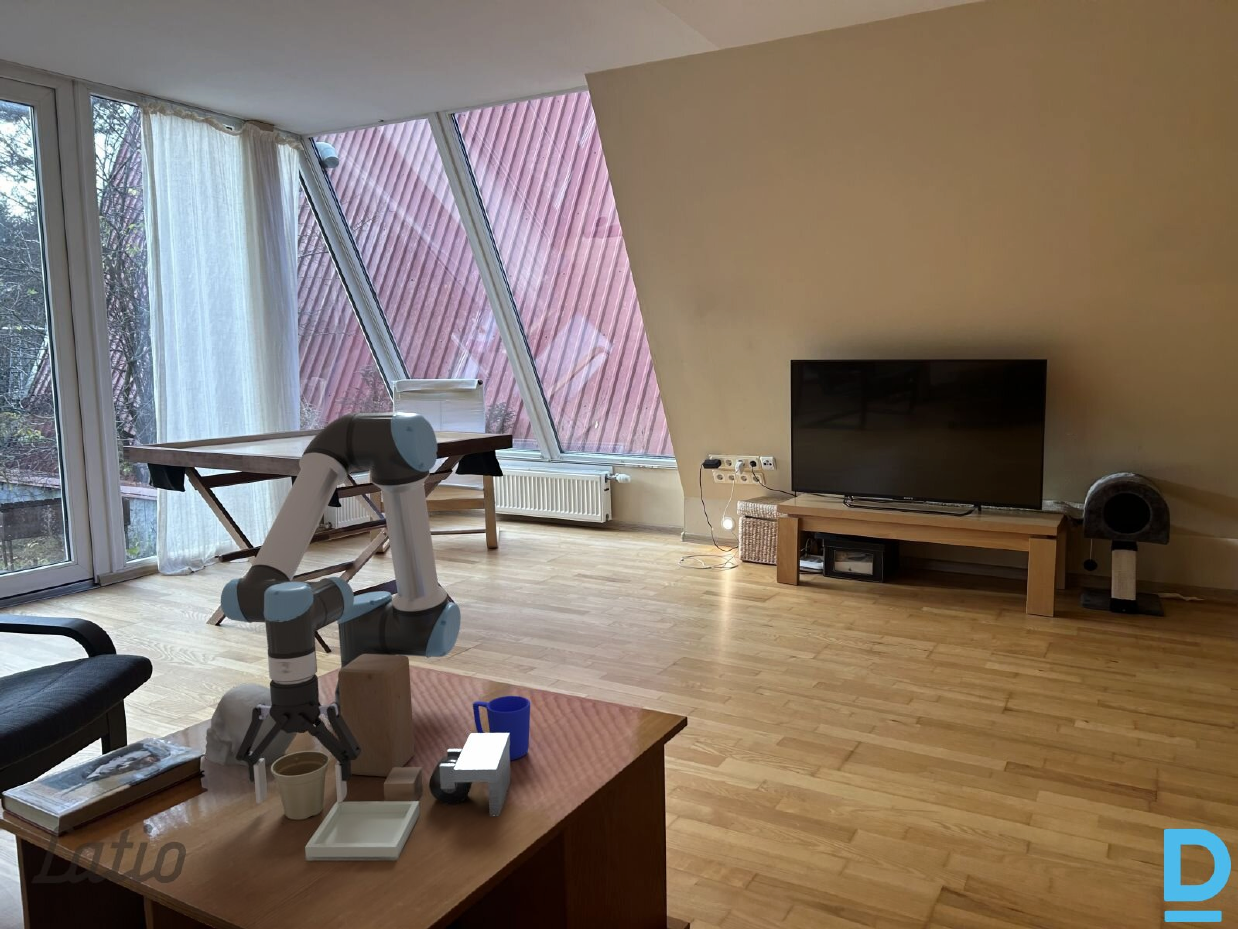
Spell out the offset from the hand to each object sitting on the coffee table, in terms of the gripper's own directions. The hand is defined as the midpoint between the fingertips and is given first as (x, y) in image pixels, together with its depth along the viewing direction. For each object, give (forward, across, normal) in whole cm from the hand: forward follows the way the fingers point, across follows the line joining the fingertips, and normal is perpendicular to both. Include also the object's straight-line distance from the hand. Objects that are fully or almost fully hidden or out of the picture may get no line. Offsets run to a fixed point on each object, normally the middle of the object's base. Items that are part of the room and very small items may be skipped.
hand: (302, 799), depth 157 cm
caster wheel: (+2, +27, +4) cm, 27 cm away
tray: (+2, +13, -8) cm, 15 cm away
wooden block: (+2, +8, +17) cm, 19 cm away
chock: (+2, +16, +4) cm, 17 cm away
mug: (+2, +30, +22) cm, 38 cm away
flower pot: (+3, 0, 0) cm, 3 cm away
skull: (+2, -18, +21) cm, 28 cm away
